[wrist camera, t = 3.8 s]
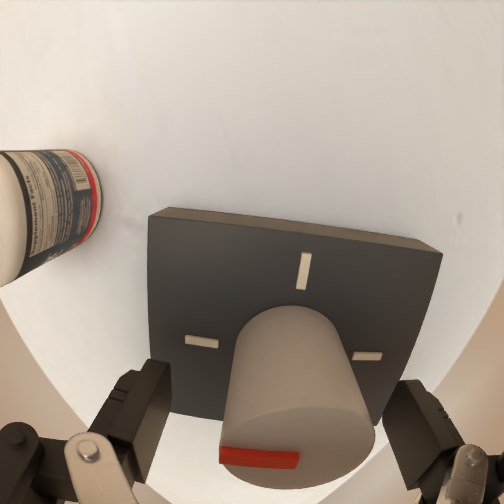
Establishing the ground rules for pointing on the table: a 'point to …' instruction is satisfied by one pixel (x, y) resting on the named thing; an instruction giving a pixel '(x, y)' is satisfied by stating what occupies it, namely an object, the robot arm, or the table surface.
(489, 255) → the table surface
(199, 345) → the dial panel
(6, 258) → the pill bottle
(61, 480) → the robot arm
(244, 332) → the program dial
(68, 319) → the table surface
